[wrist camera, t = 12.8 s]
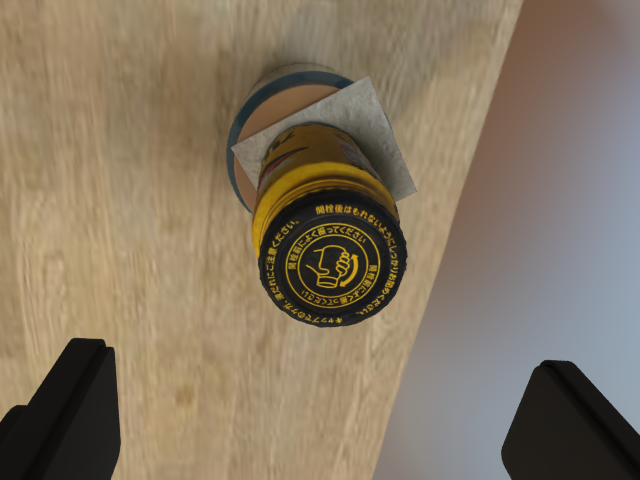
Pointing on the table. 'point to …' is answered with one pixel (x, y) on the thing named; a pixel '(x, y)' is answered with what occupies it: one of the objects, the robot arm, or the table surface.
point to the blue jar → (277, 111)
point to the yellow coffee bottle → (329, 208)
